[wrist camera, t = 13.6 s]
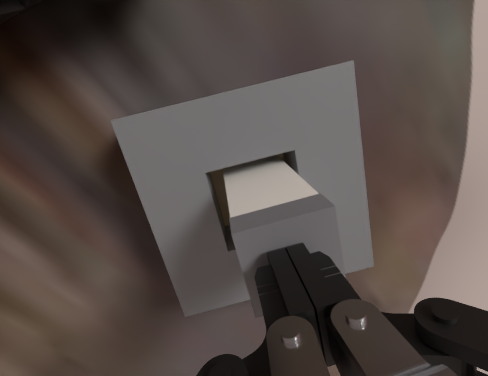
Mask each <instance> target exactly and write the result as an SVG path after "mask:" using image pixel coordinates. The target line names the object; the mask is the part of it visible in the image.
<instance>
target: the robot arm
mask: <svg viewBox="0 0 488 376" xmlns="http://www.w3.org/2000/svg"><path fill="white" fill-rule="evenodd" d="M267 256H268V260H269V265H266V266H262V267H258V268H257V271H256V273H255V276H254V278H255V282H256V286H257V291H258V295H259V299H260V303H261V307H262V312H263V316H264V320H265V324H266V336H265V339H264V341H263V343H262V344H261V346H260V347H259V348H258V349H257V350H256V351H255V352H253V353H252V354H250V355H249V356H247V357H245V358H244V359H241V358H239V357H238V356H236V355H232V354H223V355H219V356H216V357H214V358H212V359H211V360H209V361H208V362H207V363H206V364H205V365H204V366H203V367H202V368H201V370H200V371H199V372H198V374H197V375H196V376H330V374H329V371H328V368H327V367H328V366H332V365H335V364H336V366H337V368H338V371H339V373H340V375H341V376H488V375H487V374H484V373H482V372H480V371H477V370H476V369H477V367H478V368H480V369H483V370H485V371H488V311H485V310H482V309H479V308H476V307H472V306H469V305H466V304H462V303H459V302H456V301H452V300H449V299H444V298H428V299H424V300H422V301H420V302H419V303H418V304H417V305H416V306H415V309H414V314H392V313H384V312H380V311H379V310H378V308H376V307H375V306H374V305H373V304H371V303H369V302H367V301H364V300H361V299H360V297H359V296H358V294H357V293H356V292H355V290H354V289H353V288H352V286H351V285H350V284H349V282H348V281H347V280H346V278H345V277H344V276H343V274H341V271H340V270H339V269H338V267H336V265H335V263H334V262H333V261H332V259H331V258H330V257H329V256H327V255H326V254H324V253H322V252H320V251H318V252H314V253H309V251H308V249H307V248H306V246H305V245H304V243H303V242H302V243H298V244H295V245H291V246H287V247H285V248H280V249H276V250H272V251H269V252H267Z"/></svg>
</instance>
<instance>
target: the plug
mask: <svg viewBox="0 0 488 376" xmlns="http://www.w3.org/2000/svg"><path fill="white" fill-rule="evenodd" d="M223 174H224V181H225V187H226V193H227V200H228V206H229V213H230V218H229V221H230V228H231V235H232V238H233V242H234V245H235V248H236V252H237V255H238V259H239V262H240V266H241V269H242V272H243V276H244V279H245V283H246V286H247V290H248V293H249V296H250V300H251V303H252V307H253V310H254V314H255V317H260V316H263V312H262V307H261V303H260V299H259V295H258V291H257V286H256V282H255V278H254V276H255V273H256V271H257V268H258V267H262V266H266V265H269V260H268V256H267V252H269V251H272V250H276V249H280V248H285V247H287V246H291V245H295V244H298V243H302V242H303V243H304V245H305V246H306V248H307V249H308V251H309V253H314V252H318V251H320V252H322V253H324V254H326V255H327V256H329V257H330V258H331V259H332V261H333V262H334V263H335V265H336V267H338V269H339V270H340V271H341V274H343V276H344V277H345V278H346V275H345V269H344V262H343V255H342V249H341V242H340V235H339V229H338V222H337V215H336V209H335V205H334V204H332V203H331V202H330V201H329V200H328V199H327V198H326V197H325V196H323V195H322V194H321V193H320V194H319V193H318V192H317V191H316V190H314V189H313V188H312V187H311V186H310V185H309V184H308V183H307V182H306V181H305V180H304V179H302V178H301V177H300V176H299V175H298V174H297V173H296V172H295V171H294V170H293V169H292V168H290V167H289V166H288V165H287V164H286V163H285V162H284V161H283V160H282V159H281V158H280V157H278V156H277V155H273V156H269V157H265V158H262V159H258V160H254V161H250V162H246V163H242V164H238V165H234V166H230V167H226V168H223Z"/></svg>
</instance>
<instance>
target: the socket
mask: <svg viewBox="0 0 488 376" xmlns="http://www.w3.org/2000/svg"><path fill="white" fill-rule="evenodd" d="M111 124H112V126H113V129H114V131H115V134H116V137H117V139H118V142H119V145H120V147H121V150H122V152H123V155H124V158H125V160H126V163H127V166H128V168H129V171H130V174H131V176H132V179H133V181H134V184H135V187H136V189H137V192H138V195H139V197H140V200H141V203H142V205H143V208H144V210H145V213H146V216H147V218H148V221H149V224H150V226H151V229H152V231H153V234H154V237H155V239H156V242H157V245H158V247H159V250H160V253H161V255H162V258H163V260H164V263H165V266H166V268H167V271H168V274H169V276H170V279H171V281H172V284H173V287H174V289H175V292H176V295H177V297H178V300H179V303H180V305H181V308H182V310H183V313H184V316H185V317H188V316H191V315H195V314H199V313H202V312H206V311H210V310H213V309H217V308H221V307H225V306H228V305H232V304H236V303H239V302H243V301H247V300H250V296H249V293H248V290H247V286H246V283H245V279H244V276H243V272H242V269H241V266H240V262H239V259H238V255H237V252H236V248H235V245H234V242H233V238H232V235H231V228H230V221H229V218H230V213H229V206H228V200H227V193H226V187H225V181H224V174H223V168H226V167H230V166H234V165H238V164H242V163H246V162H250V161H254V160H258V159H262V158H265V157H269V156H273V155H277V156H278V157H280V158H281V159H282V160H283V161H284V162H285V163H286V164H287V165H288V166H289V167H290V168H292V169H293V170H294V171H295V172H296V173H297V174H298V175H299V176H300V177H301V178H302V179H304V180H305V181H306V182H307V183H308V184H309V185H310V186H311V187H312V188H313V189H314V190H316V191H317V192H318V193H319V194H320V193H321V194H322V195H323V196H325V197H326V198H327V199H328V200H329V201H330V202H331V203H332V204H334V205H335V209H336V215H337V222H338V229H339V235H340V242H341V249H342V255H343V262H344V269H345V274H347V273H350V272H354V271H358V270H361V269H365V268H369V267H372V266H374V263H373V253H372V243H371V233H370V222H369V212H368V202H367V192H366V182H365V172H364V161H363V151H362V141H361V131H360V121H359V111H358V101H357V90H356V80H355V70H354V60H353V61H348V62H344V63H340V64H336V65H332V66H328V67H324V68H320V69H316V70H312V71H308V72H304V73H300V74H296V75H292V76H288V77H284V78H279V79H275V80H271V81H267V82H263V83H259V84H255V85H251V86H247V87H243V88H239V89H235V90H231V91H227V92H223V93H219V94H215V95H211V96H207V97H203V98H199V99H195V100H191V101H187V102H183V103H179V104H175V105H171V106H167V107H162V108H158V109H154V110H150V111H146V112H142V113H138V114H134V115H130V116H126V117H122V118H118V119H114V120H111Z"/></svg>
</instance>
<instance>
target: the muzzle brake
mask: <svg viewBox="0 0 488 376" xmlns="http://www.w3.org/2000/svg"><path fill="white" fill-rule="evenodd" d="M40 1H42V0H0V24H1V23H3V22H5V21H7V20H8V19H10V18H12V17H14V16H15V15H17V14H19V13H21V12H22V11H24V10H26V9H28V8H29V7H31V6H33V5H35V4H36V3H38V2H40Z"/></svg>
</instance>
